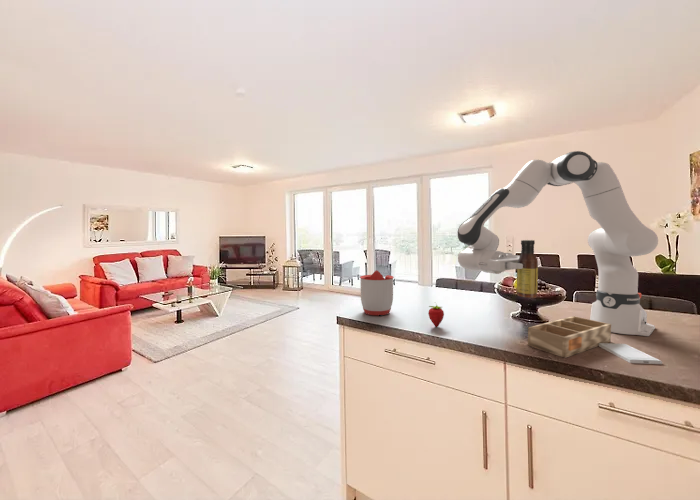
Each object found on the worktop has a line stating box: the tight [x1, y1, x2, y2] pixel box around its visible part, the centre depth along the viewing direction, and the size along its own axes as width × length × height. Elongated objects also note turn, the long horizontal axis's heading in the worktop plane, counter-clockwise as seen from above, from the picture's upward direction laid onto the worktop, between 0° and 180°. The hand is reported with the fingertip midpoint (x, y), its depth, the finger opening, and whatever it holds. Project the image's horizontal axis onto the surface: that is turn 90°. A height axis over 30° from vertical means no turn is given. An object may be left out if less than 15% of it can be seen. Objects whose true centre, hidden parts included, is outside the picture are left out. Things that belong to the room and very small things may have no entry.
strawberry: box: [428, 303, 445, 328], centre depth 116 cm, size 6×8×10 cm
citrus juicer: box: [359, 270, 394, 316], centre depth 138 cm, size 16×17×20 cm
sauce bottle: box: [516, 239, 539, 299], centre depth 103 cm, size 6×6×20 cm
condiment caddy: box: [527, 315, 612, 359], centre depth 97 cm, size 27×12×6 cm, turn 117°
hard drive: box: [598, 342, 663, 365], centre depth 89 cm, size 2×8×12 cm
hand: (530, 265), depth 102 cm, fingers closed on sauce bottle, 6 cm apart
